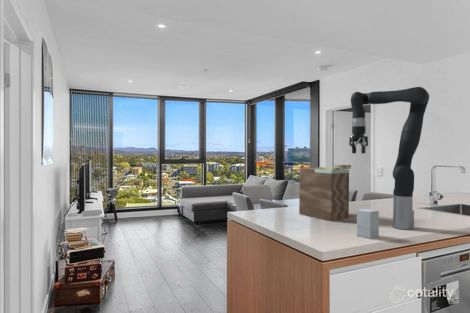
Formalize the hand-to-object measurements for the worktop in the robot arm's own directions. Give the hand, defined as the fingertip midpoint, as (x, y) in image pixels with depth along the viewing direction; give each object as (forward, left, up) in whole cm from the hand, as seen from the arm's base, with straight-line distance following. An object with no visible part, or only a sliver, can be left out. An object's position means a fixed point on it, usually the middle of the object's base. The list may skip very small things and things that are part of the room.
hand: (358, 153), depth 192 cm
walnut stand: (+14, -16, -40) cm, 45 cm away
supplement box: (+18, +34, -40) cm, 56 cm away
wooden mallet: (+7, -13, -10) cm, 17 cm away
